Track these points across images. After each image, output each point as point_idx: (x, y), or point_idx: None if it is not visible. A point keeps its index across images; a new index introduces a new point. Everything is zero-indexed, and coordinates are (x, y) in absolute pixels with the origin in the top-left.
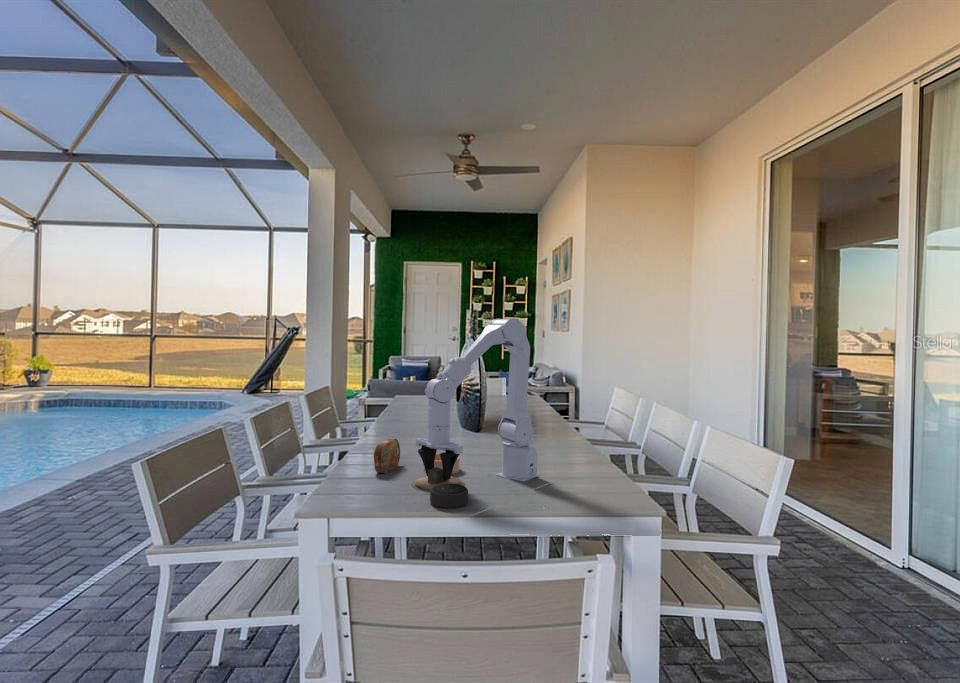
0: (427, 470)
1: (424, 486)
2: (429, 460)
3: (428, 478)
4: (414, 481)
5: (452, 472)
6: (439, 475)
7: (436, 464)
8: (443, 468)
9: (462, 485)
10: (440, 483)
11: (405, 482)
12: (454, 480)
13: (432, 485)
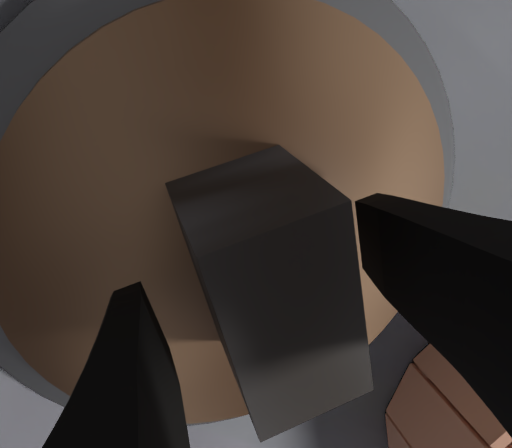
0: (394, 218)
1: (160, 15)
2: (488, 320)
3: (289, 162)
4: (445, 100)
5: (394, 426)
6: (201, 277)
7: None
8: (119, 371)
9: None
10: (170, 239)
11: (499, 31)
12: (188, 380)
13: (145, 126)
